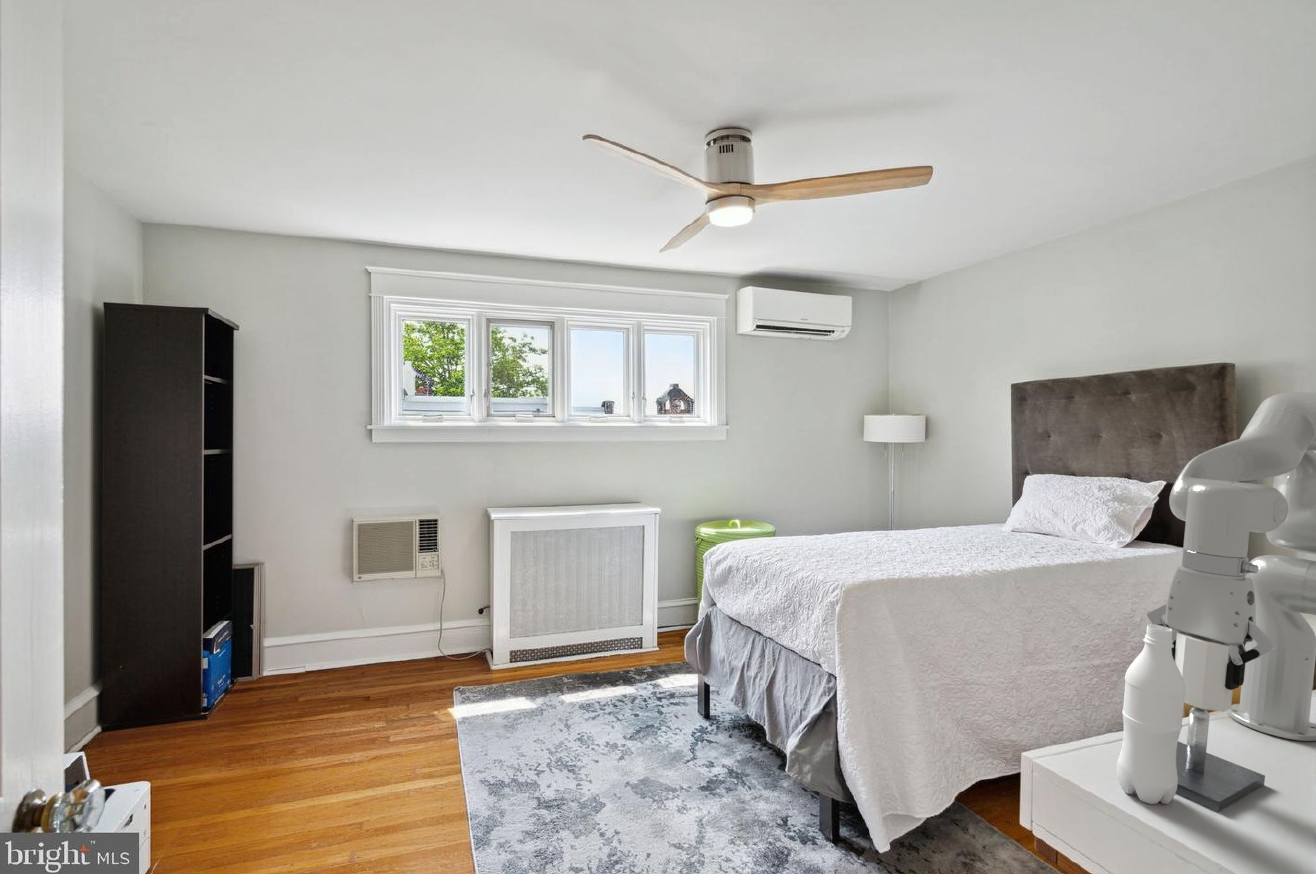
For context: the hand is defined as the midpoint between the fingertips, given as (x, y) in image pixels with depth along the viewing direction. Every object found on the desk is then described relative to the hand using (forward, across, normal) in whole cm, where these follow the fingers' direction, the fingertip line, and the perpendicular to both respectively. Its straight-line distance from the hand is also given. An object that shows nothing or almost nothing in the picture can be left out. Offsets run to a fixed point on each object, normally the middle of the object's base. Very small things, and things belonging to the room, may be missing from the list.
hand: (1202, 677), depth 102 cm
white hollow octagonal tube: (+4, 0, 0) cm, 4 cm away
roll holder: (+16, 0, 0) cm, 16 cm away
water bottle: (+16, +1, +13) cm, 21 cm away
